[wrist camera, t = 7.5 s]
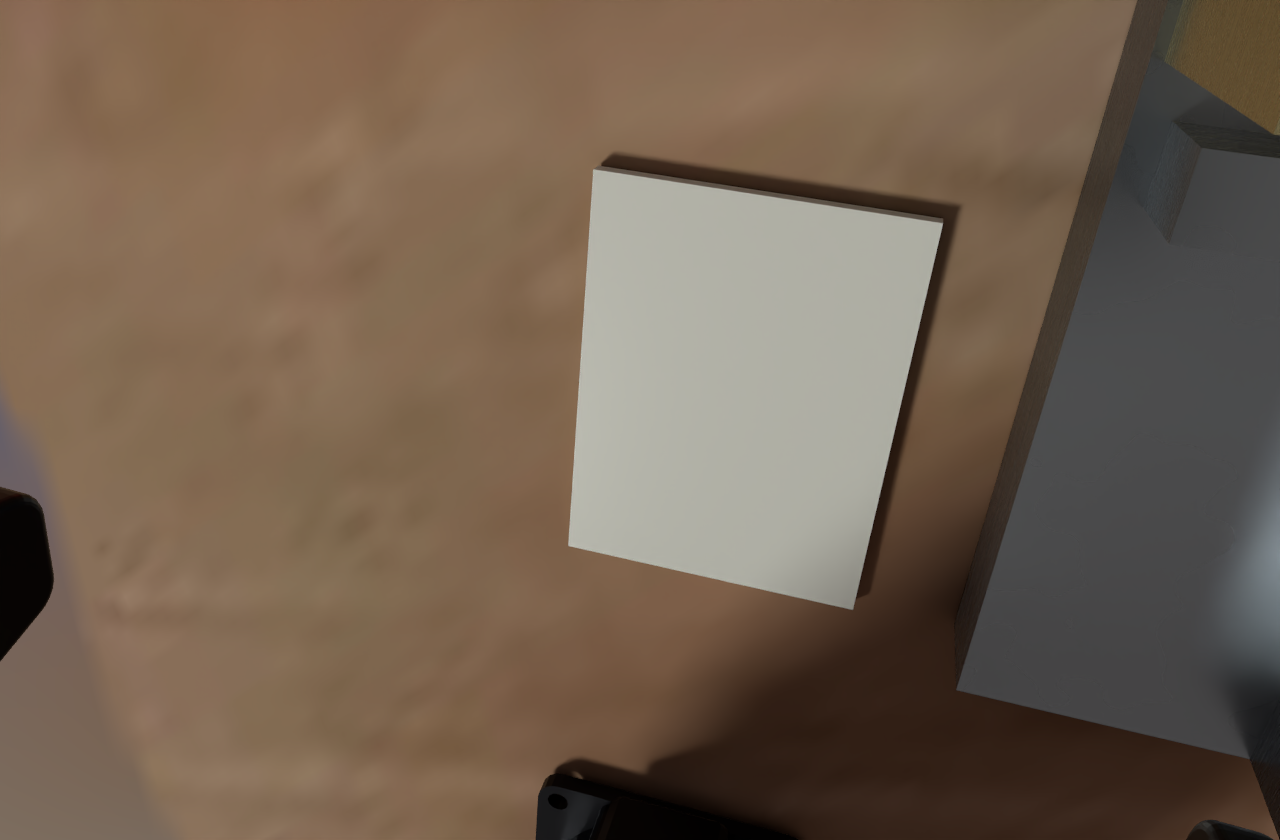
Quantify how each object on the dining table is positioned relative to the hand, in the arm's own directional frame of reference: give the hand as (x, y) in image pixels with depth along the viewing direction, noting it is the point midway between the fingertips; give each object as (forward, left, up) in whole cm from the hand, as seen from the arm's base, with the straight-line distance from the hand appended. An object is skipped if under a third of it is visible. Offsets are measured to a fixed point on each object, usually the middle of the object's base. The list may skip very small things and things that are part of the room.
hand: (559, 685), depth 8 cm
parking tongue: (-3, 0, -12) cm, 12 cm away
